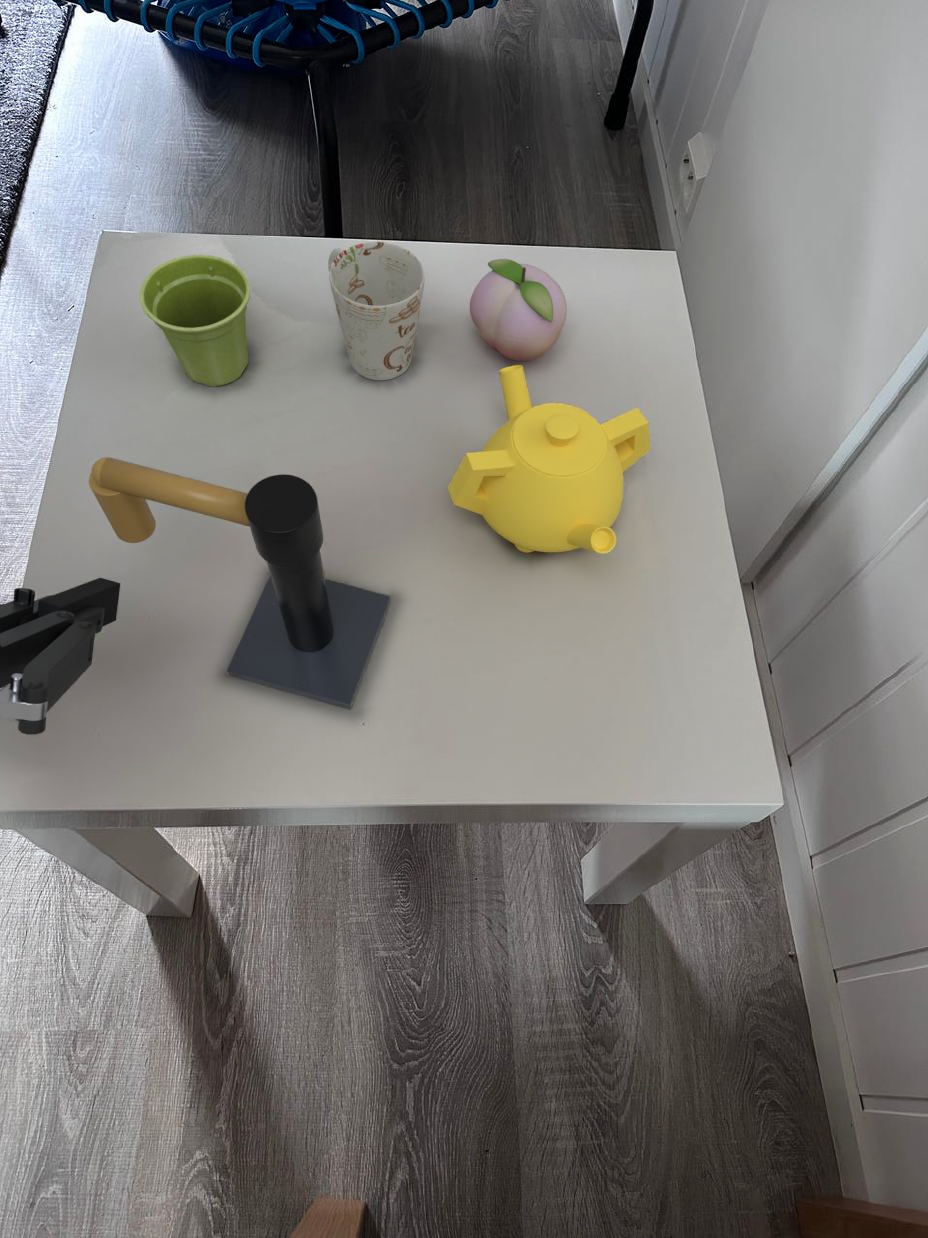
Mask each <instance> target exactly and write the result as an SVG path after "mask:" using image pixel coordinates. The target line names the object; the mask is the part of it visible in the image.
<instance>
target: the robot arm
mask: <svg viewBox="0 0 928 1238" xmlns="http://www.w3.org/2000/svg"><path fill="white" fill-rule="evenodd" d="M120 592H121V582H119V581H114V580H111V579H107V578H103V577H98V578H95V579H93V580H90V581H87V582H84V583H82V584H79V585H77V586H76V585H75V586H74V587H71V588H69V589H66V590H63V591H61V592H58V593H55V594H51V595H45V596H43V597H40V598H38V599H35V596H36V591H35V590H33V589H31V588H27V587H16V588H14V589H13V600H10V601H8V602H6V603H3V604H0V720H8V721H9V722H15V723H16V722H18V723H17V729H18V732H19V733H21V734H24V735H31V736H32V735H34V736H35V735H40V734H42V733H44V732H45V730H46V727H47V716H48V713H49V711H50V710H51V709H52V708H53V707H54V705H55V704H57V702H59V700H60V699H61V698H62V697H63V696H64V695H65V694H66V693H67V692H68V691H69V689H70V688H72V687H73V685H74V684H75V683H76V682H77V681H78V680H79V679H80V678H81V677H82V675H84V673H86V671H88V670H89V668H90V667H91V666H92V664H93V657H94V647H95V646H94V645H95V641H96V640H95V639H96V635H97V634H99V633H101V632H102V630H103V628H104V627H106V626H108V625H110V624H112V623H115V622H116V621H117V616H118V608H119V601H120Z"/></svg>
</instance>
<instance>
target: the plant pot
mask: <svg viewBox="0 0 928 1238" xmlns="http://www.w3.org/2000/svg"><path fill="white" fill-rule="evenodd" d="M250 297H251V285H250V280H249V278H248V276H247V275H246V274H245V272H244V270H243V269H242V268H240V266H238V265H236V264H235V263H233V262H232V261H230V260H228V259H226V258H222V257H220V256H216V255H210V254H189V255H183V256H180V257H176V258H173V259H170V260H167V261H166V262H163V263H162V264H160V265H158V266H157V267H155V268H154V269H153V270H152V271H151V272H149V274H147V276H146V277H145V279H144V280H143V282H142V284H141V286H140V290H139V302H140V305H141V308H142V310H143V312H144V314H146V315H147V317H148V319H150V320H151V321H152V322H153V323H154V324H155V325H156V326H157V327H158V328H159V329H160V330H161V331H162V333H163V334H164V336H165V338H166V340H167V341H168V344H169V345H170V347H171V349H172V351H173V353H174V354H175V356H176V358H177V360H178V362H179V364H180V366H181V368H182V369H183V371H184V374H185V375H186V376H187V377H188V379H190V380H191V381H192V382H195V383H200V384H203V385H206V386H208V387H221V386H225V385H228V384H230V383H233V382H234V381H236V380H238V379H239V378H241V376H242V374H243V373H244V371H245V369H246V367H247V366H248V364H249V354H248V353H249V352H248V340H247V339H248V338H247V322H246V321H247V320H246V312H247V307H248V303H249V301H250Z"/></svg>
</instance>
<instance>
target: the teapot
mask: <svg viewBox="0 0 928 1238" xmlns="http://www.w3.org/2000/svg"><path fill="white" fill-rule="evenodd" d="M498 373H499V378H500V384H501V389H502V395H503V399H504V400H503V401H504V406H505V410H506V416H507V420H506V422H505V423H503V425H502V426H500V427H499V428H498V429H497V430H496V431H495V432H494V433H493V434H492V435H491V437H490V438H489V439H488V441H487V442H486V443H485V445H484V447H483V449H482V451H476V452H466V453H465V455H464V457H463V459H462V460H461V462H460V464H459V466H458V468H457V470H456V472H455V473H454V475H453V478H452V479H451V481H450V483H449V485H448V487H447V490H448V492H449V495H450V498H451V500H452V503H453V506H457V507H459V508H462V509H465V510H466V511H467V510H468V511H470V512H473V513H475V514H479V515H481V516H482V517H483V519H484V521H486V523H487V524H488V526H490V527H491V529H493V531H495V533H497V534H498V535H499V536H501V537H502V538H503V539H504V540H507V541H508V542H510V543H512V544H514V547H515V548H516V549H517V550H519V551H520V552H522V553H526V554H527V553H533V552H542V553H563V552H570V551H573V550H577V549H584V550H587V551H591V552H594V553H598V554H603V555H604V554H608V553H610V552H611V551H613V549H614V548H615V546H616V544H617V535H616V533H615V531H614V530H613V529H612V528H611V527H612V526H613V525H614V523H615V521H616V520H617V517H619V513H620V511H621V507H622V504H623V498H624V491H625V490H624V485H625V482H624V481H625V479H624V473H625V471H627V470H628V469H629V468H630V467H631V466H632V465H634V464H635V463H637V462H638V461H639V460H640V459H641V458H642V457H643V456H645V455H646V454H647V453H649V451H651V439H650V426H649V421H648V420H647V418H646V417H645V416H644V414H643V413H642V411H641V410H640V409H639V407H638V406H637V407H636V408H633V409H631V410H629V411H627V412H624V413H622V414H620V415H617V416H615V417H613V418H612V419H609V420H607V421H605V422H603V423H600V422H599V421H598V420H597V419H596V418H595V417H593V416H592V415H591V414H590V413H588V412H587V411H585V410H583V409H582V408H580V407H577V406H574V405H571V404H567V403H562V402H560V403H559V402H549V403H541V404H537V405H534V406H533V405H532V401H531V396H530V392H529V388H528V383H527V379H526V375H525V370H524V366H523V364H515V365H510V366H505V367H503V368H500V369H499V370H498Z"/></svg>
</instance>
